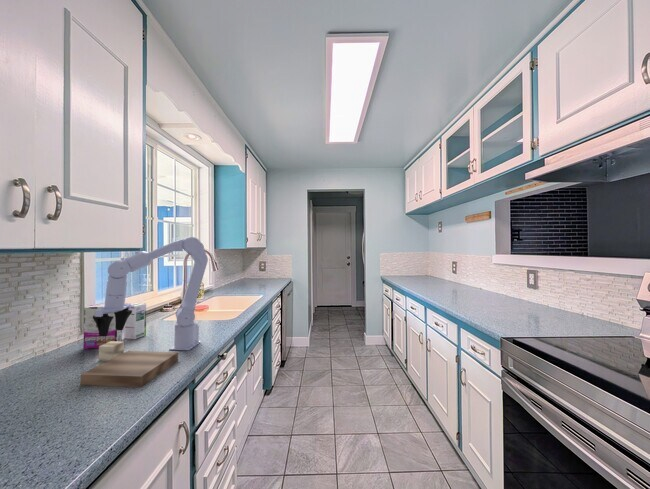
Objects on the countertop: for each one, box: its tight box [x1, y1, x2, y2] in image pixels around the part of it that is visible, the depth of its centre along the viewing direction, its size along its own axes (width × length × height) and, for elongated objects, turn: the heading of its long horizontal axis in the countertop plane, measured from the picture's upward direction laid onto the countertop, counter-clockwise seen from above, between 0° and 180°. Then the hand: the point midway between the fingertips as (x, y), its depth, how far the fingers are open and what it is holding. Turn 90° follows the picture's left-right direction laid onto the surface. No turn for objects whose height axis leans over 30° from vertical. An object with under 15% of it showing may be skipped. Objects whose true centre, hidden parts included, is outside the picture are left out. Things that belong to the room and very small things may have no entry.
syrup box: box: [123, 302, 147, 340], centre depth 120 cm, size 6×6×14 cm
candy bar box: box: [83, 304, 123, 350], centre depth 108 cm, size 11×5×16 cm, turn 105°
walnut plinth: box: [80, 350, 179, 388], centre depth 87 cm, size 18×18×3 cm
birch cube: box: [98, 341, 125, 362], centre depth 97 cm, size 5×5×5 cm
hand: (111, 332), depth 96 cm, fingers open, 7 cm apart
